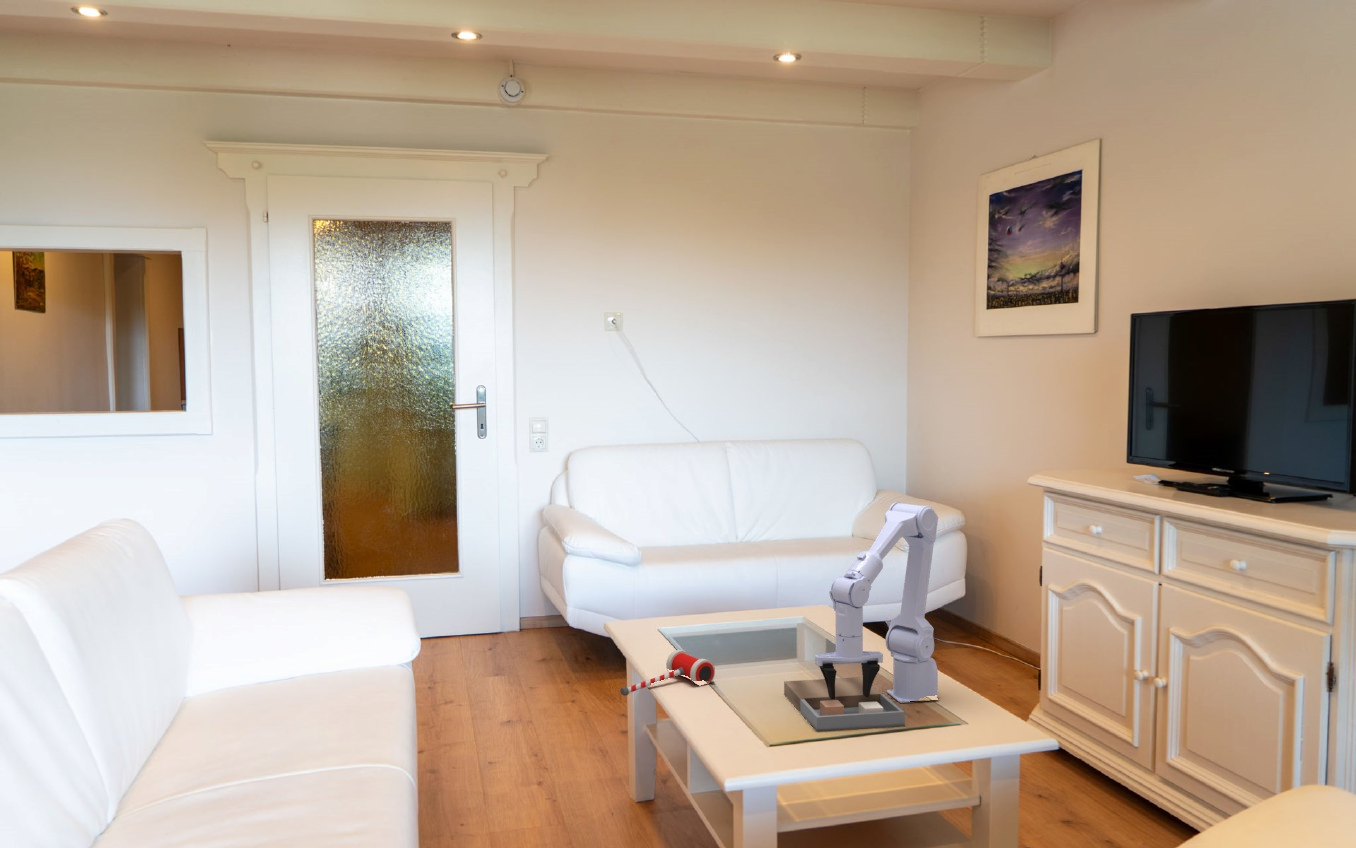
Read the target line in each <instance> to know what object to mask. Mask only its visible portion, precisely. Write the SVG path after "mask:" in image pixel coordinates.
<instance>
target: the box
mask: <svg viewBox="0 0 1356 848" xmlns="http://www.w3.org/2000/svg"><path fill="white" fill-rule="evenodd" d="M880 705H881V706H882V707H883V712H874V713H859V707H850V708H844V714H842V715H826V716H820V709H817V710H814V709H813V708H812V707H811V706H810V705H809V704H808V703H807V702H806V701H805V700H804V699H800V712H799V713H800V714H801V715H802V716H803V718H804V719H805V720H806V721H807V722H808V724H810V726H811V727H812V728H813V729H814V730H815V732H817V733H820V732H836V731H850V730H866V729H867V730H868V729H878V728H879V729H881V728H882V729H883V728H895V727H896V728H897V727H898V728H899V727H905V725H906V723H905V722H906V720H905V719H906V712H905V711H904V710H903V709H902V708H901V707H899V706H898V705H897V704H896V703H895V702H894V701H892V700H891V699H890V698H889V697H888V696H886V695H885V694H884V693H883V694H880Z"/></svg>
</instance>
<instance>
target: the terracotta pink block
mask: <svg viewBox="0 0 1356 848" xmlns="http://www.w3.org/2000/svg"><path fill="white" fill-rule="evenodd" d="M842 714H844V706H843V705H842V704H841V703H840V702H839V701H838V700H828V701H820V716H826V715H842Z"/></svg>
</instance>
